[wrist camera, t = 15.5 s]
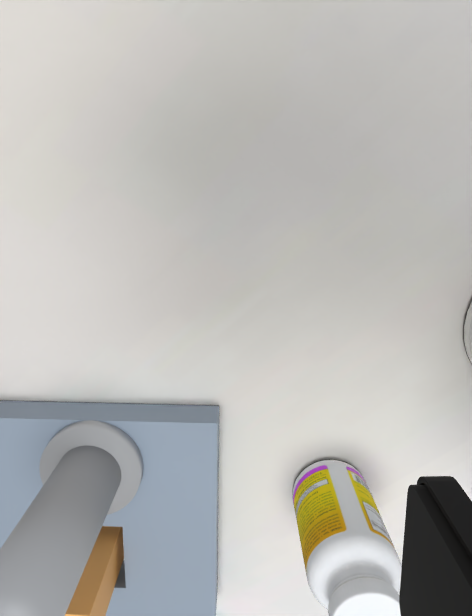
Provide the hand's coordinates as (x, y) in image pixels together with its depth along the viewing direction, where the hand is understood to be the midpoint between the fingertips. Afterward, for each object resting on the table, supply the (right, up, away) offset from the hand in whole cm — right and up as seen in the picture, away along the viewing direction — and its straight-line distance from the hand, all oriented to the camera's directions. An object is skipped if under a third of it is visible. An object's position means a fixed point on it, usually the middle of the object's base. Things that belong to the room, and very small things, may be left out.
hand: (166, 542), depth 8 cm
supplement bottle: (+10, -12, +32) cm, 35 cm away
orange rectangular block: (-10, -17, +33) cm, 38 cm away
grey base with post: (-10, -13, +32) cm, 36 cm away
